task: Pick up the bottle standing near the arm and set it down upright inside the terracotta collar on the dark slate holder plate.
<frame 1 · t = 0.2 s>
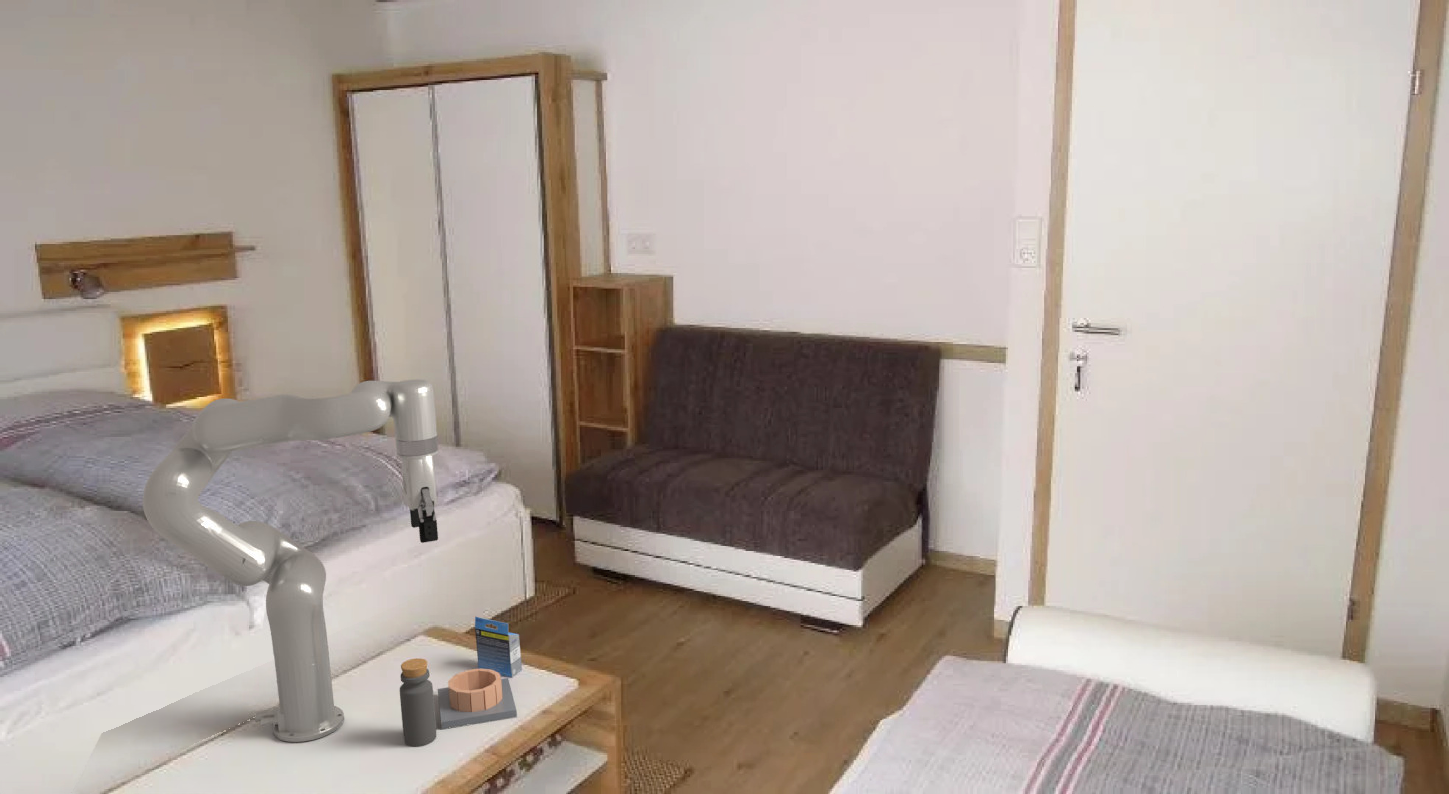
hand: (424, 533, 199), 36 cm above the cabinet, tool pointing down, fingers open, 9 cm apart
holder: (476, 706, 207), on the cabinet
label tape box: (499, 671, 222), on the cabinet
bottle: (420, 739, 195), on the cabinet
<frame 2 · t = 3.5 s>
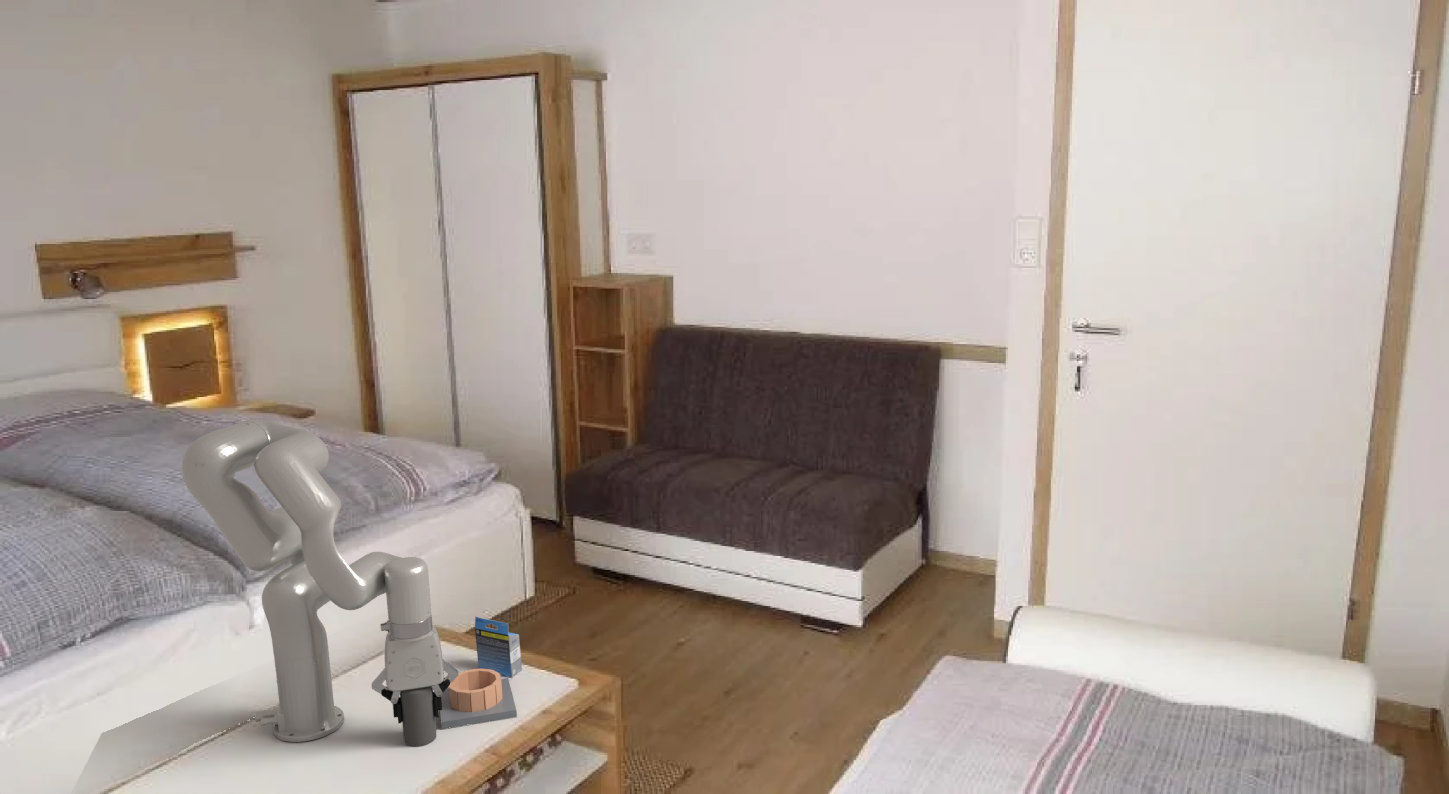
hand: (418, 716, 194), 5 cm above the cabinet, tool pointing down, fingers closed on bottle, 5 cm apart
bottle: (420, 739, 195), on the cabinet, touching gripper
everything else where it was.
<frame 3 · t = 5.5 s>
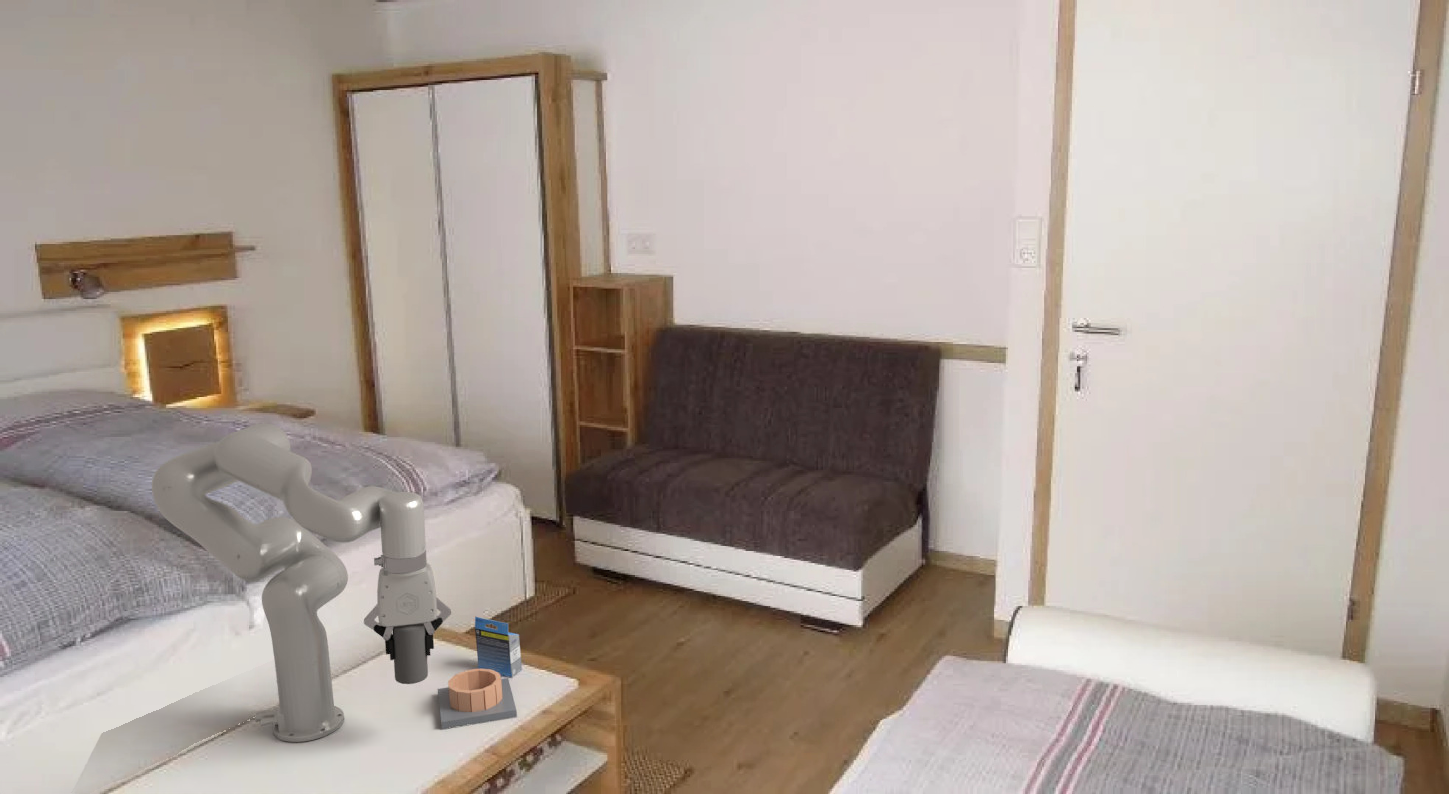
hand: (410, 654, 192), 17 cm above the cabinet, tool pointing down, fingers closed on bottle, 5 cm apart
bottle: (411, 678, 193), point 12 cm above the cabinet, touching gripper
everything else where it was.
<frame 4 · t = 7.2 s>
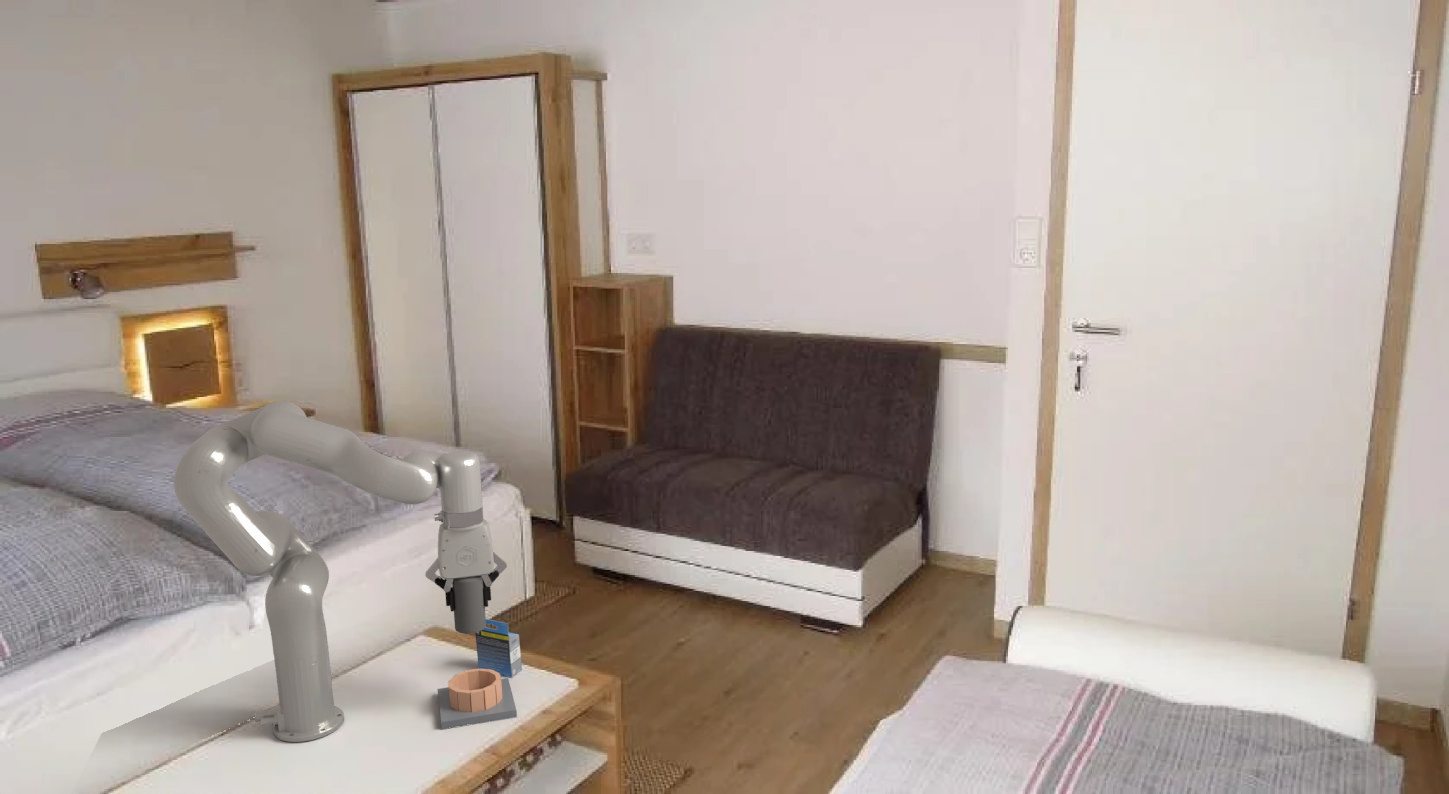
hand: (469, 605, 202), 21 cm above the cabinet, tool pointing down, fingers closed on bottle, 5 cm apart
bottle: (470, 628, 203), point 16 cm above the cabinet, touching gripper
everything else where it was.
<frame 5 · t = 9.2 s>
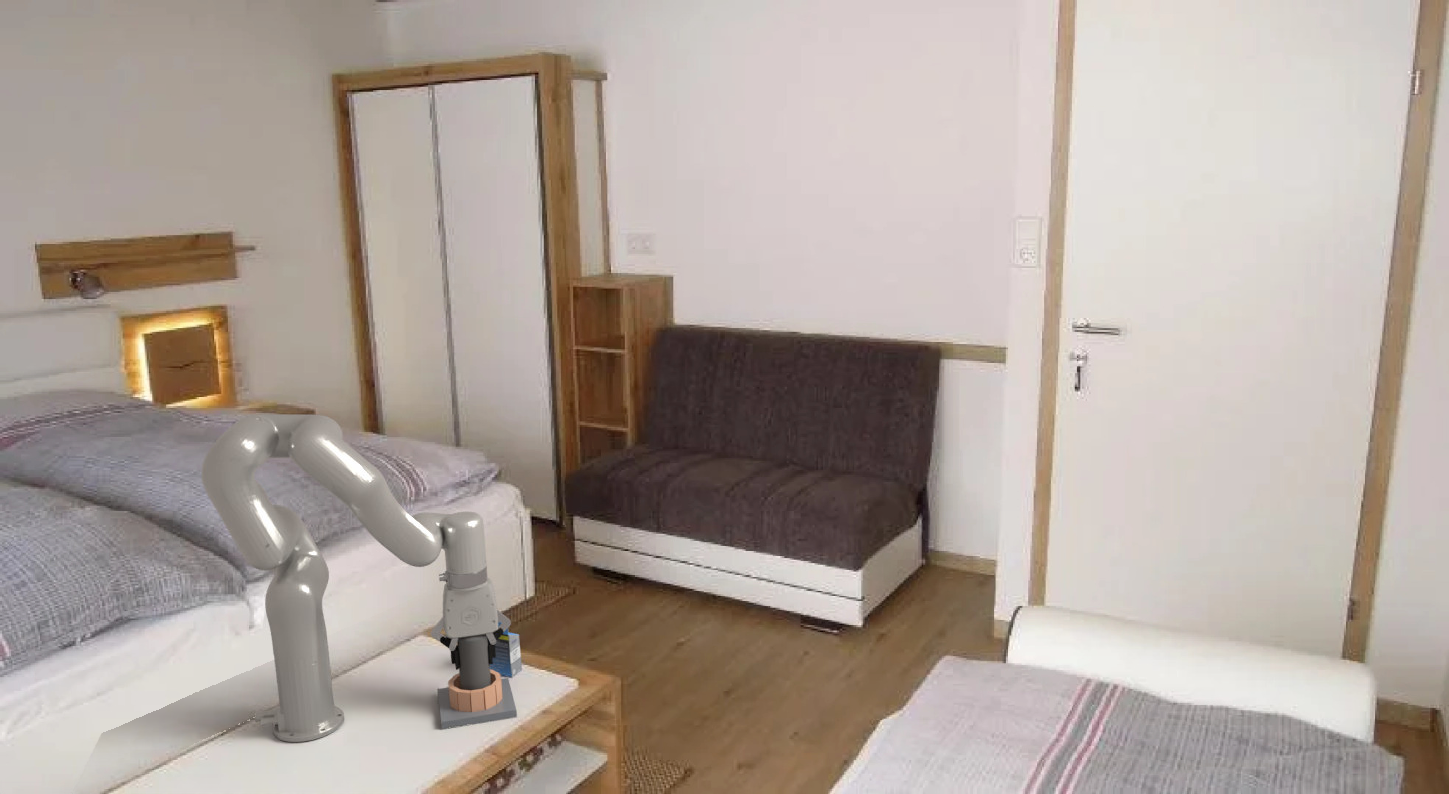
hand: (473, 663, 205), 9 cm above the cabinet, tool pointing down, fingers closed on bottle, 5 cm apart
bottle: (475, 685, 206), point 4 cm above the cabinet, touching gripper
everything else where it was.
when the fingers open (7 cm above the cabinet, at t = 10.8 s): bottle drops 1 cm, resting on holder.
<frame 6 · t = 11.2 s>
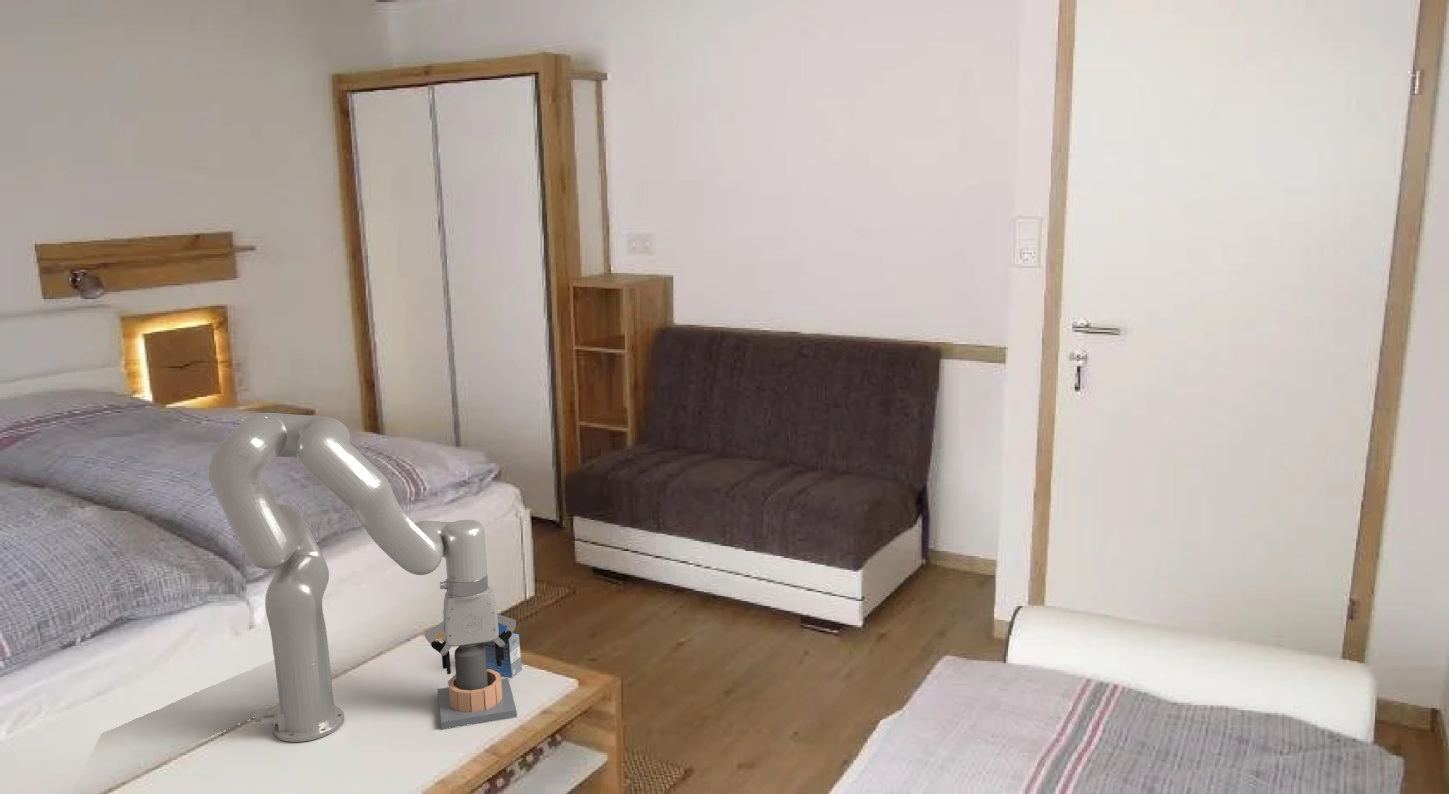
hand: (473, 667, 205), 8 cm above the cabinet, tool pointing down, fingers open, 9 cm apart
bottle: (473, 700, 206), point 1 cm above the cabinet, touching holder
everything else where it was.
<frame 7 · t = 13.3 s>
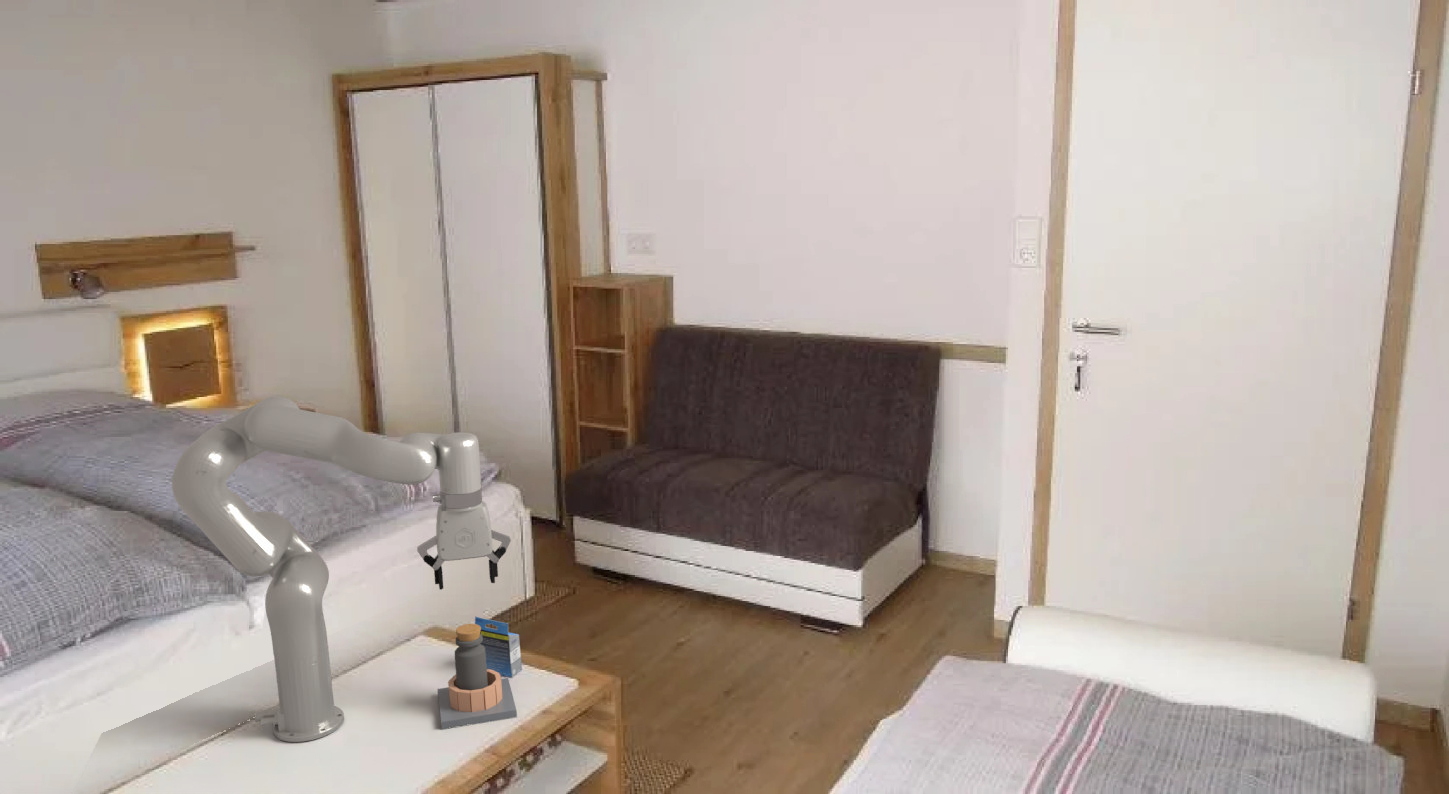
hand: (466, 583, 201), 26 cm above the cabinet, tool pointing down, fingers open, 9 cm apart
nothing on the cabinet moved.
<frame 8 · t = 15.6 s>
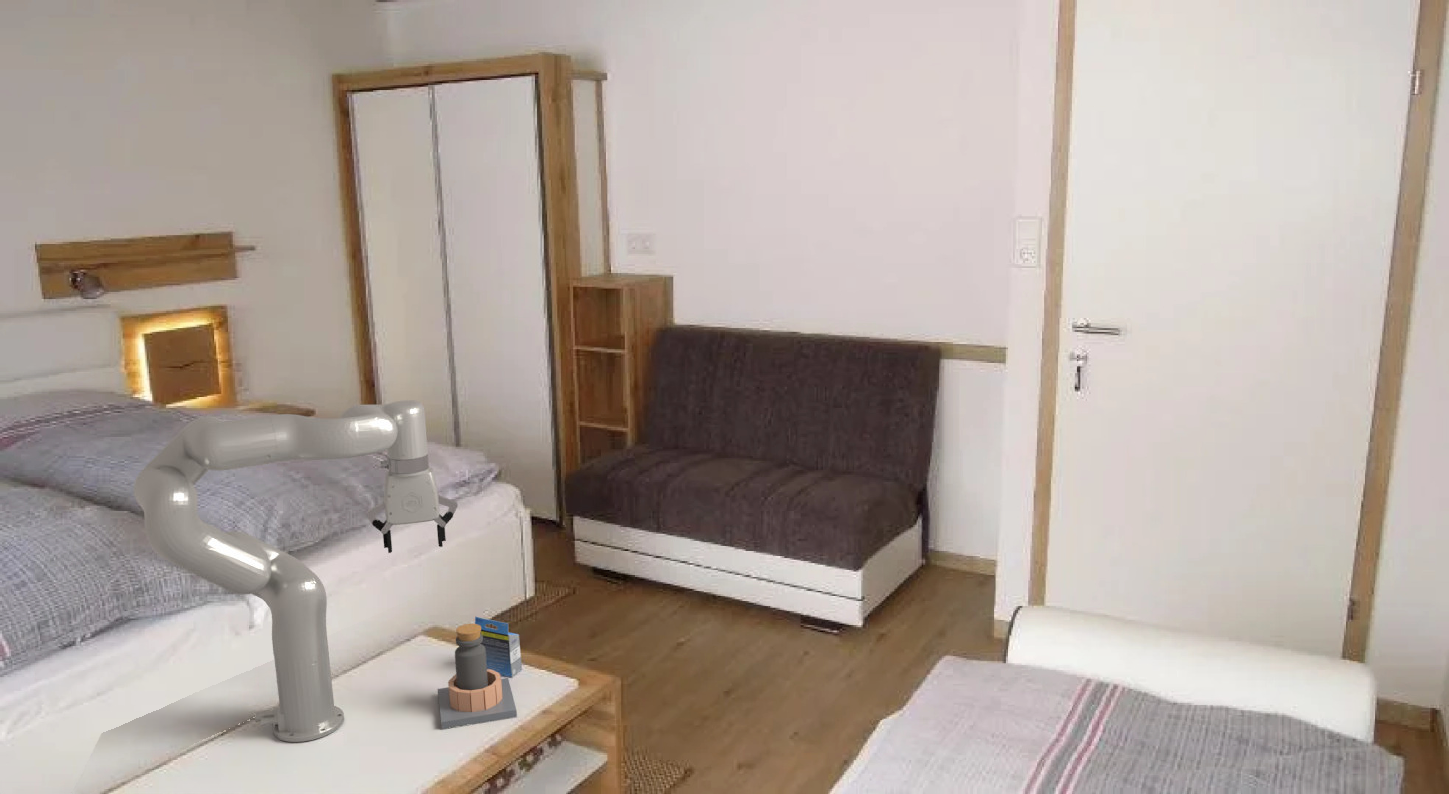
hand: (415, 547, 208), 30 cm above the cabinet, tool pointing down, fingers open, 9 cm apart
nothing on the cabinet moved.
at the end: bottle 0.5 cm off-centre on the holder, point 1.3 cm above the holder's base; bottle tilted 0°; the gripper is holding nothing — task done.
